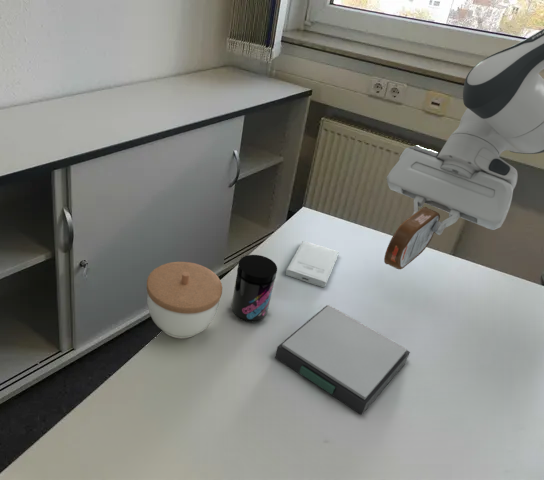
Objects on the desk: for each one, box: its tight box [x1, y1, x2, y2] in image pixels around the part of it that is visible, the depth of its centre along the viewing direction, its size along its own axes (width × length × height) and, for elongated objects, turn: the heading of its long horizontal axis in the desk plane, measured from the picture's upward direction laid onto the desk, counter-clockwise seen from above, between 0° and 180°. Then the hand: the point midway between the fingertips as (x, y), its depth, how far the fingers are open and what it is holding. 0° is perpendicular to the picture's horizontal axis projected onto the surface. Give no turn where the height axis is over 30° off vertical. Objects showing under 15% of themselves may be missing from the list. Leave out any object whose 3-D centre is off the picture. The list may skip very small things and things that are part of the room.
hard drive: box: [285, 240, 340, 288], centre depth 113 cm, size 2×8×12 cm
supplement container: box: [230, 254, 278, 323], centre depth 96 cm, size 7×7×10 cm
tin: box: [383, 206, 441, 270], centre depth 91 cm, size 15×3×8 cm, turn 136°
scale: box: [274, 304, 411, 415], centre depth 90 cm, size 16×16×3 cm
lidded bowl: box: [146, 261, 223, 340], centre depth 92 cm, size 13×13×11 cm
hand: (424, 227), depth 94 cm, fingers closed on tin, 2 cm apart
